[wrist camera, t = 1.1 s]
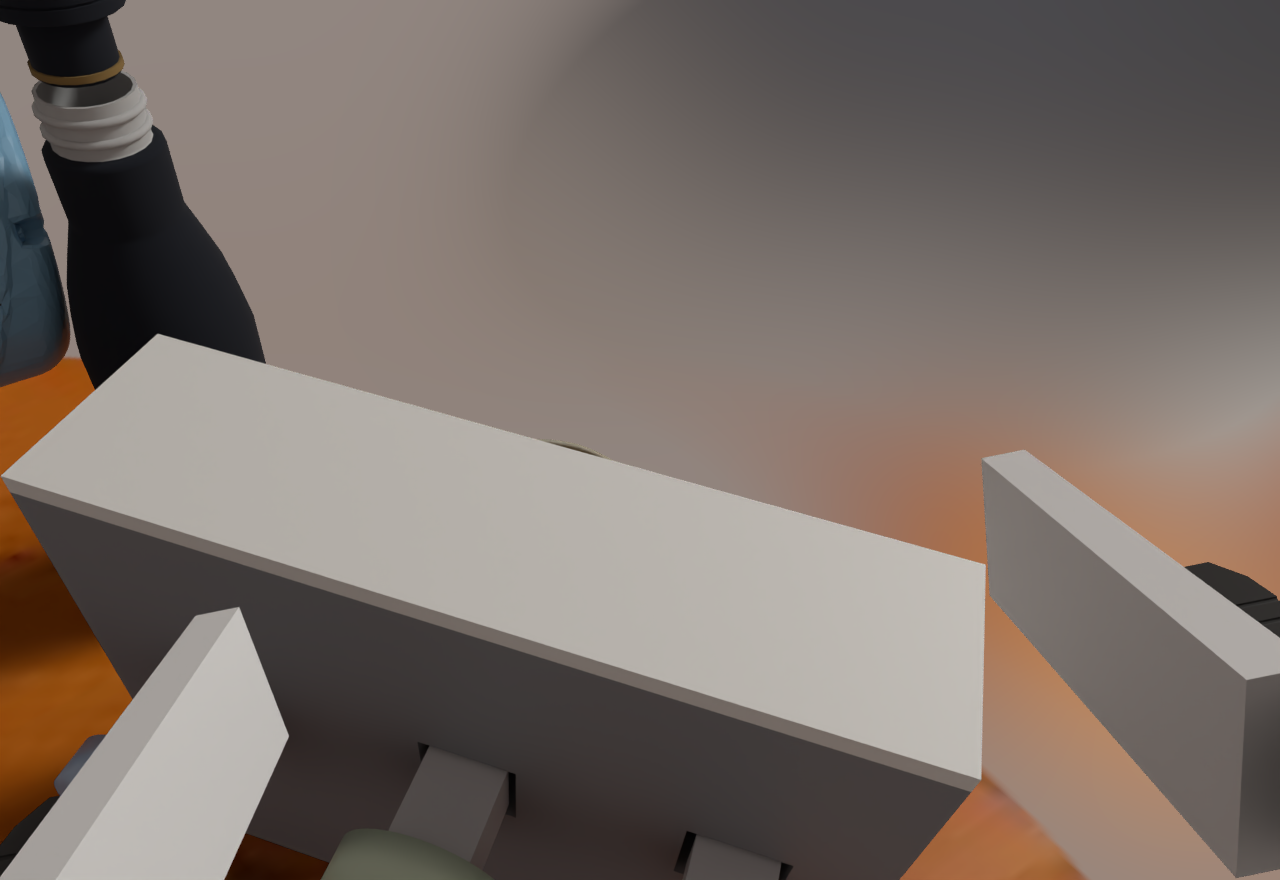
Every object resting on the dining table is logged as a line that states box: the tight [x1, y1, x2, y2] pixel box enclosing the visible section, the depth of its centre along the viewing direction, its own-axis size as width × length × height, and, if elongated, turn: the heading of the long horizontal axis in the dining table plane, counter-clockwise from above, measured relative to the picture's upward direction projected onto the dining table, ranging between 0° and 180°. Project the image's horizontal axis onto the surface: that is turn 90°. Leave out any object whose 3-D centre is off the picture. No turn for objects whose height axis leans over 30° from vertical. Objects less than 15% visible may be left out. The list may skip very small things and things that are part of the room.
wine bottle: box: [0, 0, 266, 390], centre depth 36 cm, size 6×6×30 cm
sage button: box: [321, 746, 509, 880], centre depth 26 cm, size 4×5×5 cm
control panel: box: [1, 334, 986, 880], centre depth 30 cm, size 6×24×21 cm, turn 74°
